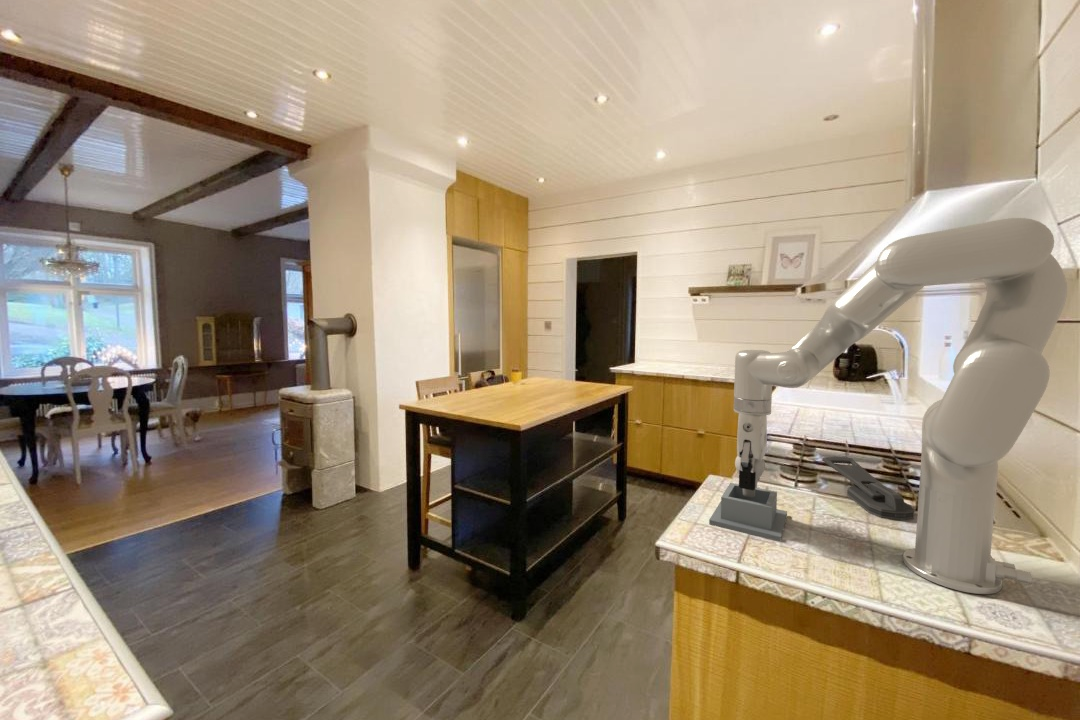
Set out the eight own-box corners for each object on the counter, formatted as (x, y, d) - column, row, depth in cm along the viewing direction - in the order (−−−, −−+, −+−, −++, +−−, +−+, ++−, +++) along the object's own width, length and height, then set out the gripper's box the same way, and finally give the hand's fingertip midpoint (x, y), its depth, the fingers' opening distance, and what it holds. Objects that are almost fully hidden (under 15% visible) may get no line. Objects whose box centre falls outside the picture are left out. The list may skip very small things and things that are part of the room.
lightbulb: (750, 506, 93) (751, 457, 92) (727, 495, 98) (729, 449, 97) (770, 500, 95) (772, 453, 94) (747, 490, 101) (748, 445, 100)
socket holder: (786, 515, 99) (787, 490, 98) (780, 541, 87) (781, 513, 87) (722, 501, 107) (723, 478, 106) (709, 524, 95) (709, 498, 95)
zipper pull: (852, 456, 119) (923, 492, 95) (850, 479, 120) (921, 521, 95) (818, 456, 120) (880, 491, 95) (817, 479, 121) (878, 520, 96)
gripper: (765, 415, 85) (762, 501, 87) (775, 400, 99) (772, 475, 101) (725, 410, 90) (723, 493, 91) (740, 397, 104) (738, 469, 105)
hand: (749, 483), depth 96 cm, fingers closed on lightbulb, 5 cm apart
